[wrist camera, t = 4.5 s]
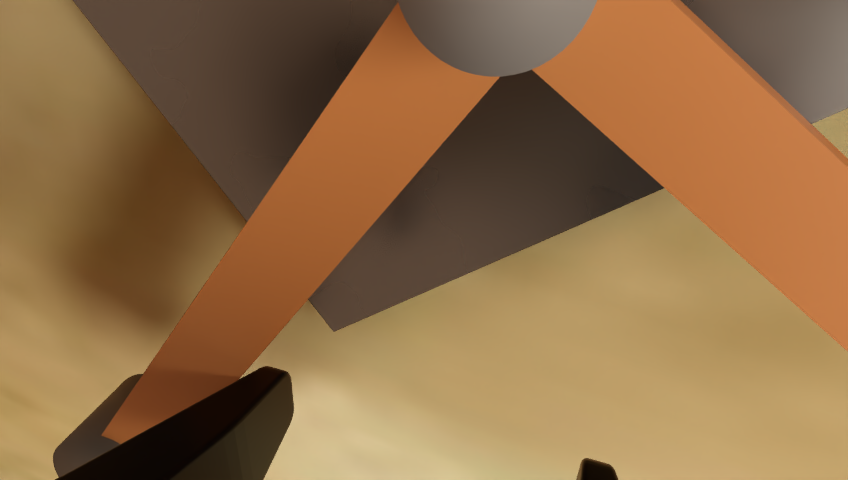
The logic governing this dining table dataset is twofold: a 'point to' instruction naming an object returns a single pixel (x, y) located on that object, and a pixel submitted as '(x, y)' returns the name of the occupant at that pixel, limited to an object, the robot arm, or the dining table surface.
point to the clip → (439, 116)
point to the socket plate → (457, 156)
